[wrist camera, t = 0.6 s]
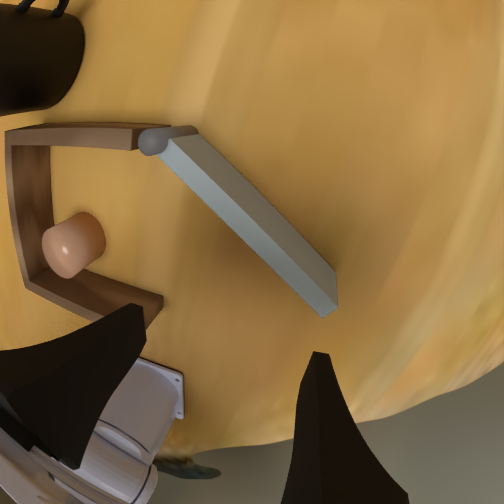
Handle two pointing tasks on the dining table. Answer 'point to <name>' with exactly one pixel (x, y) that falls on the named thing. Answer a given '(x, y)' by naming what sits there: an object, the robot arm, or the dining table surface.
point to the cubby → (41, 216)
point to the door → (245, 212)
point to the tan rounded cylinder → (73, 244)
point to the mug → (37, 56)
